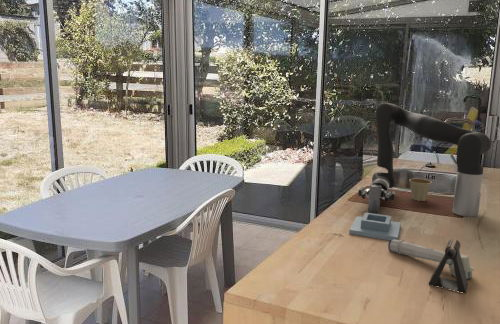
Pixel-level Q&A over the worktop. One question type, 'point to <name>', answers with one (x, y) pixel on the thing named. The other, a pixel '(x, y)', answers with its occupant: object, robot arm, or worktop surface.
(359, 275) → the worktop surface
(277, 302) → the worktop surface
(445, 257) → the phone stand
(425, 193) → the flower pot
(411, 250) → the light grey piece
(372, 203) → the steel axle
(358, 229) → the block
